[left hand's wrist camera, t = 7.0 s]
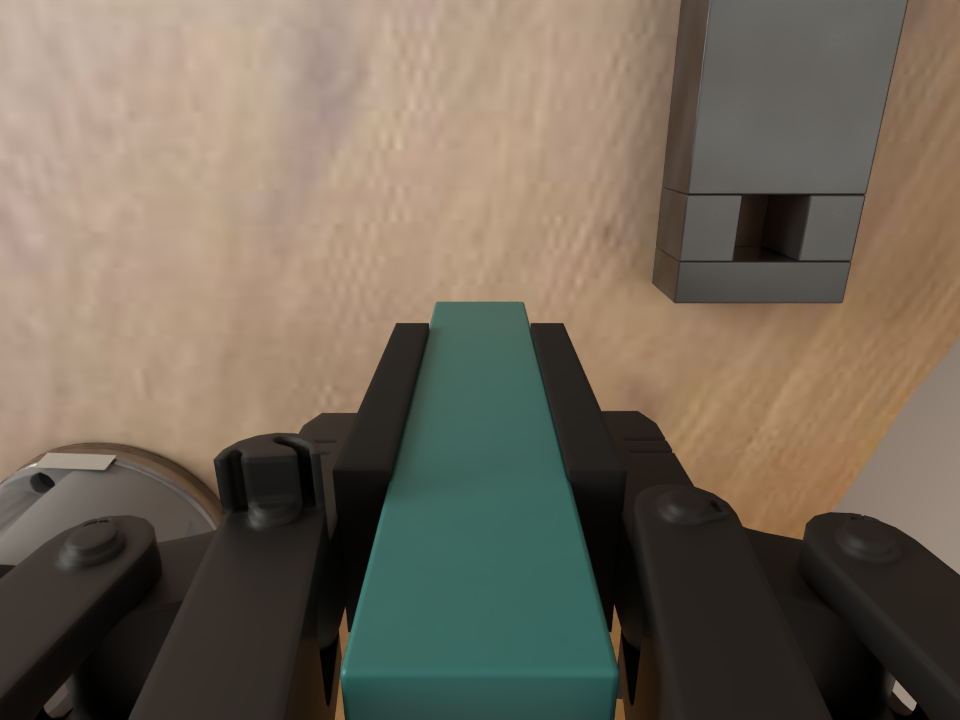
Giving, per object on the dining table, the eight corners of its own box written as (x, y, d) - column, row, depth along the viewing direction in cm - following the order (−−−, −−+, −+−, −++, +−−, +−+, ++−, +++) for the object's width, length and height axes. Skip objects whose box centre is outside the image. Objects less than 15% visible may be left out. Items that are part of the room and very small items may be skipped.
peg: (521, 383, 17) (602, 857, 6) (437, 383, 17) (357, 858, 6) (524, 301, 16) (622, 673, 5) (435, 301, 16) (337, 675, 5)
